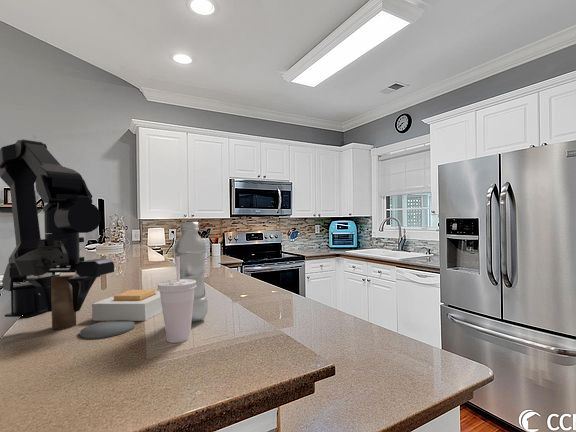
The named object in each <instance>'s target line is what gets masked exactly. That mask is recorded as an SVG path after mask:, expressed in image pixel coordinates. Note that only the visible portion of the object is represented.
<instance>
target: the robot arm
mask: <svg viewBox="0 0 576 432" xmlns="http://www.w3.org/2000/svg"><path fill="white" fill-rule="evenodd" d="M0 179H1V180H2V181H3V182H4V183H5V184H6V185H7V186H8V187H9V191H10V199H11V200H10V201H11V202H10V203H11V211H12V218H13V219H12V220H13V228H14V239H15V247H14V249H13V250H12V252H11V254H10V255H9V257H8V263H7V265H6V267H5V271H4V273H3V277H2V280H1V283H2V289H3V290H4V291H7V292H10V309H11V311H10V313H5V314H4V317H5V318H17V317H18V318H19V317H20V318H22V317H23V318H28V317H33V316H36V315H39V314H43V313H46V312H48V313H49V312H51V313H52V303H51V277H55V276H61V274H60V273H63V274H64V273H66V274H67V273H70V274H71V273H74V275H75V277H73V278H69V279H67V280H68V282H69V283H70V284H71V285H72V296H73V308H74V312H76V313H78V312H79V311H80V310H82V307H83V304H84V302H85V301H86V299H87V298H86V297H87V296H88V294H89V291H90V289H91V288H92V286H93V285H94V283H95V281H96V279H97V278H101V276H103V275H107V274H112V273H115V263H114V262H113V260H112V259H111V258H94V259H87V260H85V257H84V256H80V243H85V238H84V237H83V236H82V237H80V234H82V233H84V234H86V233H90V232H93V231H95V230H96V229H98V227H99V226H100V225H101V222H102V214H101V211H100V210H99V208H98V207H97V206H96V204H93V199H92V198H93V194H92V193H91V191H90V190H89V188H88V186H87V184H86V181H85V179H84V178H83V176H82V174H81V173H79V172H78V171H76V170H75V169H72V168H69V167H65V166H63V165H62V164H61V163H60V162H59V161H58V160H57V159H56V158H55V157H54V155H53V154H52V153H51V152H50V151H49V150H48V146H47V144H46V143H44V142H42V141H36V140H30V139H29V140H28V139H18V140H17V141H16V142H15V143H11V144H8V145H4V146H1V148H0ZM36 193H37V194H38V195H39V197H40V198H41V200H42V201H43V203H44V204H45V205H44V206H43V207H42V211H43V213H44V215H43V216H44V217H43V219H44V238H42V237H41V230H40V229H41V228H40V221H39V214H38V213H39V212H38V203H37V199H36ZM57 273H58V274H57ZM22 315H23V316H22ZM21 316H22V317H21Z"/></svg>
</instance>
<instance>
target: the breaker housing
mask: <svg viewBox="0 0 576 432" xmlns="http://www.w3.org/2000/svg"><path fill="white" fill-rule="evenodd" d="M114 296H115V295H113V296H110V297H107V298H105V299H101V300H99V301H96V302H94V303H91V316H92V321H101V322H106V321H113V320H130V321H133V322H134V321H137V322H138V321H140V322H142V321H145V322H147V320H150V319H152V318H154V317H155V316H157V315H159V314H161V313H163V310H162V304H161V297H160V291H158V290H157V291H156V290H155V294H154V295H152V296H149V297H147V298H145V299H142V300H114Z"/></svg>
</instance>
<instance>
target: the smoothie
mask: <svg viewBox="0 0 576 432" xmlns="http://www.w3.org/2000/svg"><path fill="white" fill-rule="evenodd" d="M175 268H177V272H176V279H171V280H165V281H161V282H159V283H157V291H160V297H161V304H162V310H163V312H162V315H163V322H164V329H165V334H166V341H167V342H168V343H173V344H175V343H177V344H178V343H182V342H186V341H188V340H190V338H191V332H192V322H191V321H192V310H193V300H194V289H195V287H196V281H195V280H192V279H180V257H176V263H175Z"/></svg>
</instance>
